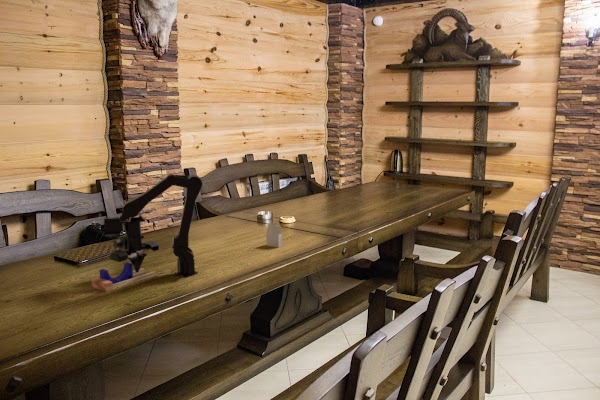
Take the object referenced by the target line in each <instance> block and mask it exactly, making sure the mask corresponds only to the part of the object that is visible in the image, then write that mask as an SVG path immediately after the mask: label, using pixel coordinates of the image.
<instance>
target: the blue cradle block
mask: <svg viewBox="0 0 600 400" xmlns="http://www.w3.org/2000/svg"><path fill="white" fill-rule="evenodd" d="M133 271H134V270H133V265H132V263H131V262H124V263H123V269H122V271H121V273H119V274H118V275H119V276H118V275H116V276H117V277H115V276H114V277H115V278H111V276H110V274H109V270H107V269H104V268H102V269H99V278H102V279H105V280H108V281H111V282H112V284H115V283H118V282H121V281H125V280H128V279H131V278H134V276H133Z"/></svg>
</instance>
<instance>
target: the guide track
mask: <svg viewBox="0 0 600 400" xmlns="http://www.w3.org/2000/svg"><path fill="white" fill-rule="evenodd" d="M145 272H146V271H145V268H144V267H142V268H140V269H139V272H138V273H137V272H136V271H135V270H133V278H131V279H128V280H125V281H121V282H118V283H115V284H112V282H111V281H108V280H105V279H102V278H100V276H97V277H94V278H91V287H92V288H95V289H97V290H101V291H103V292H110V291H113V290H114V289H117V287H118V288H120V287H121V288H122V287H123V285H124V286H126V285H127V284H128V285H130V283H131V284H133V282H134V283H137V282H140V281H144V280H147V279H150V278H153V277H156V276H157V272H156V271H151V272H148V273H145ZM143 273H144V274H143ZM119 275H120V274H118V275H116V276H112V277H111V276H110V277H111V278H115V277H117V276H119ZM137 275H138V276H137ZM134 276H135V277H134ZM128 285H127V286H128Z"/></svg>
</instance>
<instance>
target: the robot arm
mask: <svg viewBox="0 0 600 400" xmlns="http://www.w3.org/2000/svg"><path fill="white" fill-rule="evenodd" d="M172 186H175V187H179V188H185V199H184V204H183V209H182V214H181V217H180V223H179V229H178V232H177V234H173V235H172V241H171V243H170V246H171V249H172V254H174V256H175V257H177V262H176V263H177V271H176V272H175V273H174V275H178V276H180V277H184V278H187V277H190V276H193V275H195V274H199V272H198V271H196V270H195V266H196V265H195V254H194V251H193V249H191V248H190V247H189V233H190V227H191V223H192V219H193V214H194V210H195V205H196V200H197V198H198V196H199V194H200V193H201V190H202V187H203V181H202V179H201V178H200V176H199V175H197V174H190V175H182V174H181V175H180V174H174V173H169V174H168V175H166V177H165V178H163V179H162V180H160V181H159V182H157V183H156V184H154V185H153V186H152V187H150V188H149V189H148V190H146V191H144V193H142V194H140V195H138V196H135V197H132V198H130V199H129V200H127V201H125V202H124V204H123V208H122V212H121V213H120V214H119V216H116V217H104V220H103V221H104V224H103V225H104V227H103V232H104V236H105V237H109V236H121V234H122V233H123V232H124V231H125V235H124V236H123V239H122V240H121V239H120V238H117V239H114V240H113V241H112V242H113V247H114V248H115V249H116V250H114V251H111V252H110V253H109V258H110V261H114V262H117V263H122V262H124V261H127V260H129V261H130V263H131V264H132V268H134V271H136V272H137V273H138V272H139V269H141V267H142V264H143V262H144V259H145V257H147V256H148V253H145V251H147V250H151V251H152V252H157V251H160V245H159V243H158V242H157V241H156V242H155V241H152V240H148V241H144V242H143V239H144V238H145V237H144V236H145V235H143V234H142V226H141V225H142V224H141V223H145V222H146V218H145V217H144V216H143V215H142V214H139V213H141V212H142V210H144V208H146V206H148V204H149V203H150V202H152V201H153V200H154V199H156V198H157V197H158V196H160V195H161V194H163V193H165V191H167V190H169V189H170V188H171V187H172ZM124 228H125V229H124ZM117 249H118V250H117Z"/></svg>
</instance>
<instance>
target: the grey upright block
mask: <svg viewBox="0 0 600 400" xmlns="http://www.w3.org/2000/svg"><path fill="white" fill-rule="evenodd" d="M283 234H284V233H283V230H282V227H281V225H277V224H272V223H271V224H270V223H269V224H267V230H266V234H265V235H266V237H265V238H266V241H265V242H266V247H271V248H273V247H274V248H280V247H284V244H283V243H284V241H283V239H284V238H283V237H284V235H283Z"/></svg>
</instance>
